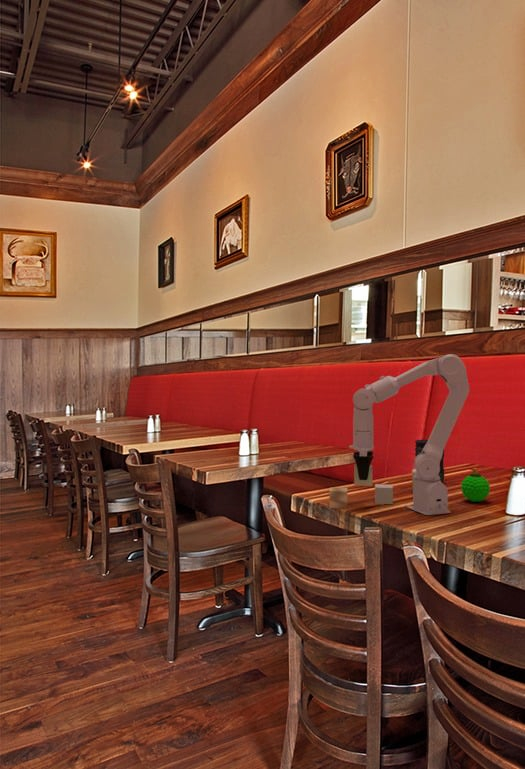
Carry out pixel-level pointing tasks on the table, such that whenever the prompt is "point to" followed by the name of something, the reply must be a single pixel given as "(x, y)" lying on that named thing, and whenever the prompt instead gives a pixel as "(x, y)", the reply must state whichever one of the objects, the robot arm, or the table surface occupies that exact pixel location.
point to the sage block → (362, 482)
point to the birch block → (338, 498)
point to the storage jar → (419, 448)
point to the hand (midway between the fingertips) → (363, 478)
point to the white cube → (383, 494)
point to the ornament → (475, 487)
